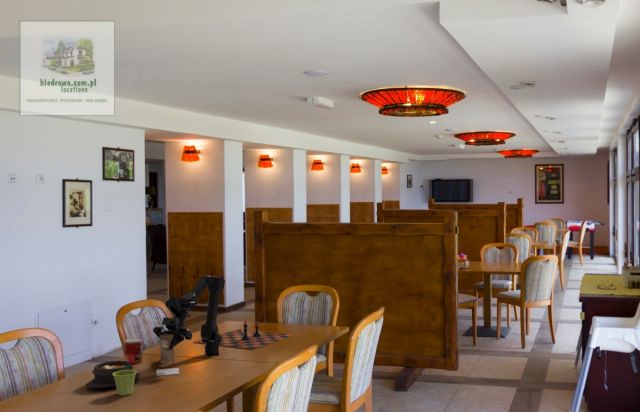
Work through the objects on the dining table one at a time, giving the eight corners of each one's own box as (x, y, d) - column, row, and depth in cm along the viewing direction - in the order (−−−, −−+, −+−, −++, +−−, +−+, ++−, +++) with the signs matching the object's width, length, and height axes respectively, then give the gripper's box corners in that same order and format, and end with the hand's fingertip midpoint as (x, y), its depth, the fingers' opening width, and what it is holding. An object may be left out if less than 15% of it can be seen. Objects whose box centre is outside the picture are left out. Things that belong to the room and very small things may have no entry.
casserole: (106, 394, 278) (106, 374, 277) (75, 389, 287) (74, 369, 286) (149, 379, 299) (149, 360, 299) (119, 374, 308) (118, 356, 308)
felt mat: (178, 368, 316) (178, 367, 316) (179, 374, 306) (179, 373, 306) (156, 370, 313) (156, 369, 313) (156, 376, 304) (156, 375, 304)
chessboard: (252, 350, 349) (251, 329, 349) (193, 343, 370) (193, 323, 370) (295, 336, 383) (294, 317, 383) (239, 330, 404) (238, 312, 404)
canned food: (138, 364, 325) (137, 341, 325) (122, 364, 327) (121, 341, 326) (145, 360, 333) (144, 338, 332) (130, 360, 334) (129, 338, 334)
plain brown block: (166, 361, 312) (165, 334, 312) (174, 361, 311) (173, 334, 310) (160, 363, 309) (159, 335, 308) (169, 364, 307) (168, 336, 307)
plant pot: (116, 391, 282) (115, 370, 282) (139, 389, 283) (138, 369, 283) (111, 397, 273) (110, 376, 272) (134, 396, 273) (134, 375, 273)
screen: (168, 359, 333) (167, 347, 333) (168, 366, 320) (167, 354, 319) (159, 360, 332) (159, 348, 332) (159, 367, 319) (159, 354, 318)
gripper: (154, 309, 316) (140, 337, 307) (188, 311, 309) (174, 340, 299) (165, 322, 324) (151, 351, 314) (198, 324, 316) (185, 353, 307)
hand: (165, 348), depth 308 cm, fingers closed on plain brown block, 4 cm apart
